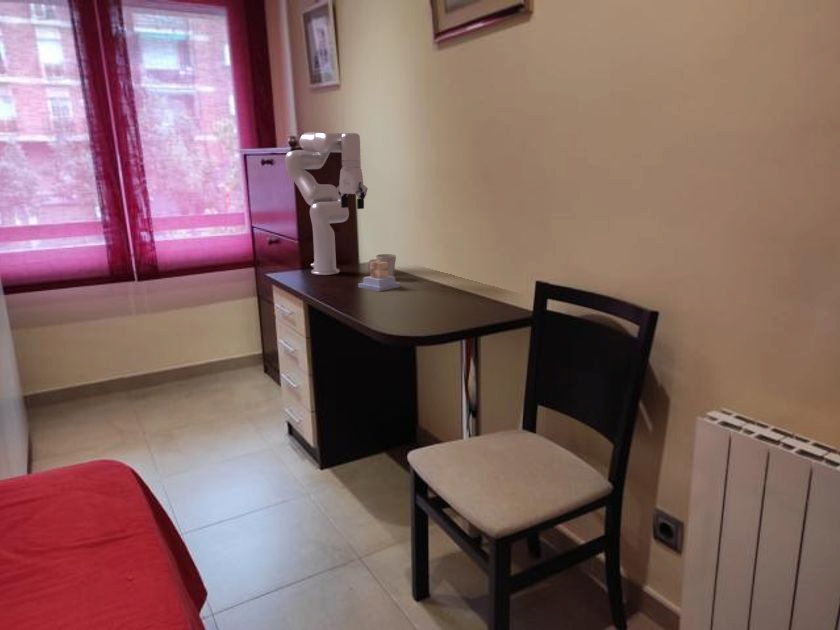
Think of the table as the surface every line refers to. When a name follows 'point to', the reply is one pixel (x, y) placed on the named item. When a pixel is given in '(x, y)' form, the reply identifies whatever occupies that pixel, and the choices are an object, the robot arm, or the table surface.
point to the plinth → (379, 283)
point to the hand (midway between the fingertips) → (352, 208)
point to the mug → (385, 258)
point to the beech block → (378, 269)
